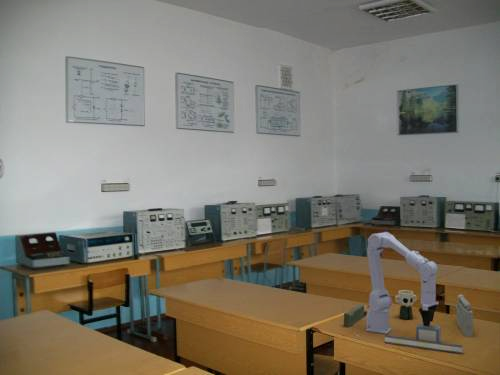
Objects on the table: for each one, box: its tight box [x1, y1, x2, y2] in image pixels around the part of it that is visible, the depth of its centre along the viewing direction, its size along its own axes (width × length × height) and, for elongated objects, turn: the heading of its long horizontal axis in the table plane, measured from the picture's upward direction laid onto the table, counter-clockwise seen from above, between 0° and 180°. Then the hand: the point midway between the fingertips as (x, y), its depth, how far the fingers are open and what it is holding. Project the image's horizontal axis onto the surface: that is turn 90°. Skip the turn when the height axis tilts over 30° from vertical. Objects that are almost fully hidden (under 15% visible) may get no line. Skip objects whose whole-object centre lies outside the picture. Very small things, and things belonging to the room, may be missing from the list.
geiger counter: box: [454, 294, 475, 338], centre depth 236 cm, size 14×6×25 cm
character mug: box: [394, 289, 418, 320], centre depth 253 cm, size 11×7×13 cm, turn 98°
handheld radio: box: [343, 303, 368, 328], centre depth 250 cm, size 7×3×25 cm
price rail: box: [384, 334, 464, 355], centre depth 211 cm, size 30×2×3 cm, turn 61°
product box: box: [415, 323, 442, 342], centre depth 217 cm, size 5×9×7 cm, turn 61°
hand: (428, 323), depth 216 cm, fingers open, 7 cm apart
